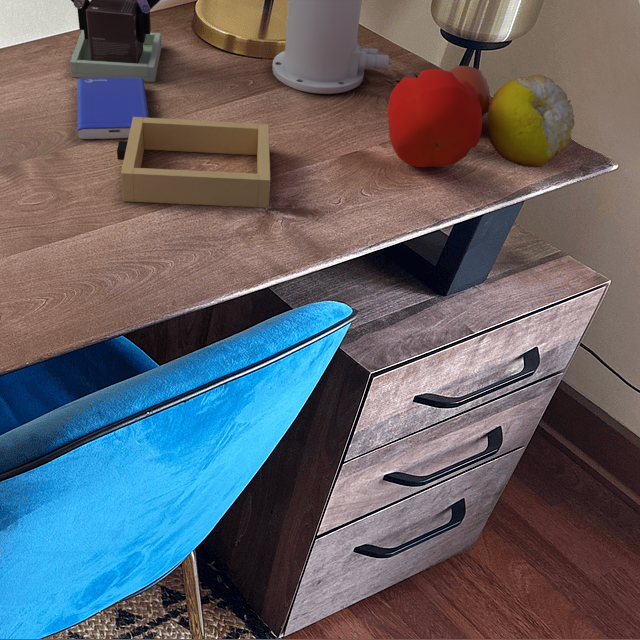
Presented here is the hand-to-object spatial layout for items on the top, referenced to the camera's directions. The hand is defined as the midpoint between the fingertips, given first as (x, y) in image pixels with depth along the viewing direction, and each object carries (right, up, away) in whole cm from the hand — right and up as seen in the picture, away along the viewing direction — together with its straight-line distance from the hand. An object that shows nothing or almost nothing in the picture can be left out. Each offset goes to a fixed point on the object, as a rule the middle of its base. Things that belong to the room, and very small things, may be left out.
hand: (115, 35), depth 109 cm
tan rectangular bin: (+13, -21, -16) cm, 30 cm away
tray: (0, -3, +2) cm, 4 cm away
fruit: (+53, -14, -6) cm, 55 cm away
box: (0, -2, +2) cm, 3 cm away
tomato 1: (+40, -19, -16) cm, 47 cm away
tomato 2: (+46, -6, -4) cm, 46 cm away
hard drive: (+2, -12, -8) cm, 15 cm away
